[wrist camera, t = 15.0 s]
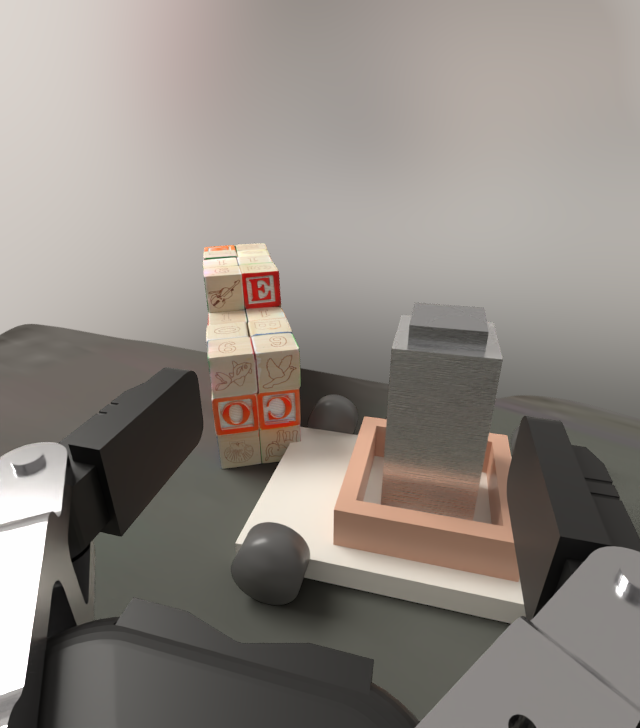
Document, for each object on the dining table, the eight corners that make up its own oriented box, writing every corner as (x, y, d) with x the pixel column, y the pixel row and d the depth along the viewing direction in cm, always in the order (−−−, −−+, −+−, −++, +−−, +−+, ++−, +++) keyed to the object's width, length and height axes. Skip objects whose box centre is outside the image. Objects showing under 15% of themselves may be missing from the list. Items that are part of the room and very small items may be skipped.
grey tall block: (379, 522, 26) (392, 328, 21) (389, 469, 31) (403, 298, 26) (469, 539, 25) (506, 338, 20) (466, 481, 30) (496, 304, 25)
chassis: (221, 592, 24) (214, 536, 22) (306, 428, 38) (305, 386, 36) (653, 697, 19) (685, 636, 18) (569, 466, 33) (582, 420, 32)
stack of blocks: (304, 460, 34) (298, 305, 29) (220, 473, 33) (197, 314, 28) (272, 347, 53) (264, 240, 48) (217, 353, 52) (203, 244, 47)
